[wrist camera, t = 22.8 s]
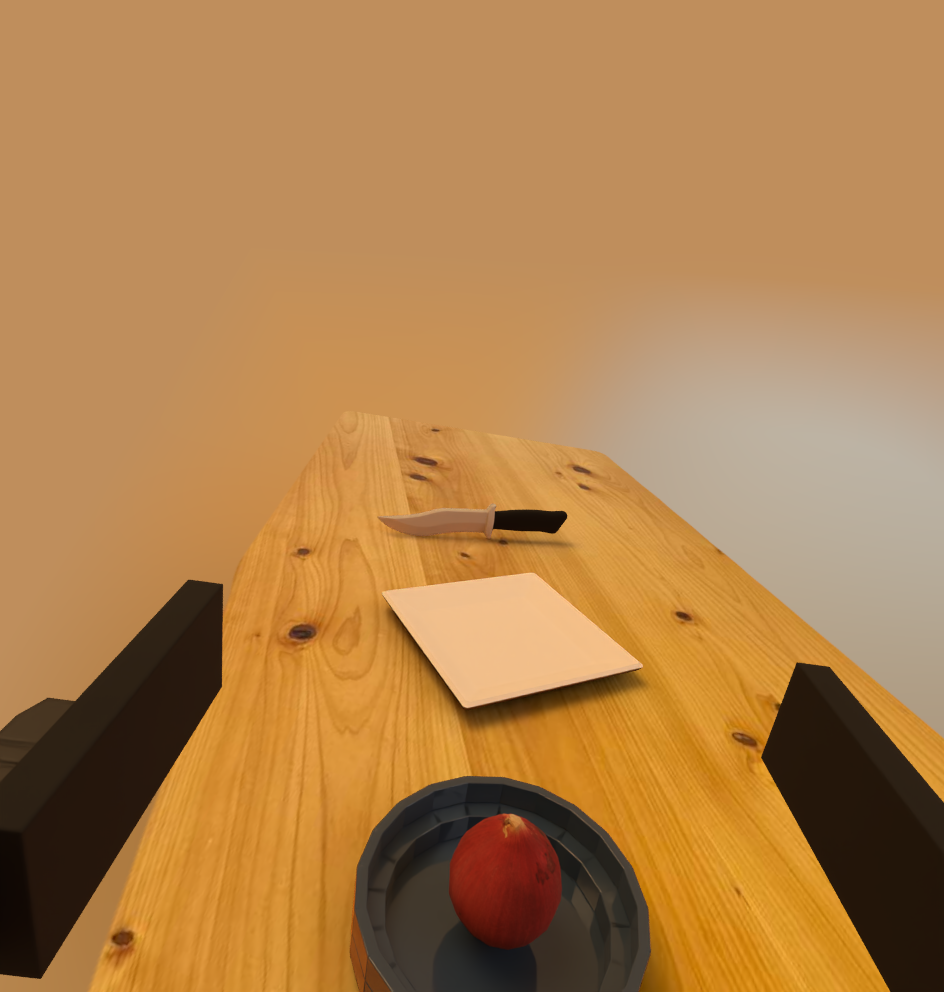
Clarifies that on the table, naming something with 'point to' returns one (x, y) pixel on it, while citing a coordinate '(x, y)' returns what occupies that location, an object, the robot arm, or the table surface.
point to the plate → (506, 638)
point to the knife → (475, 521)
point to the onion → (505, 881)
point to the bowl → (443, 937)
